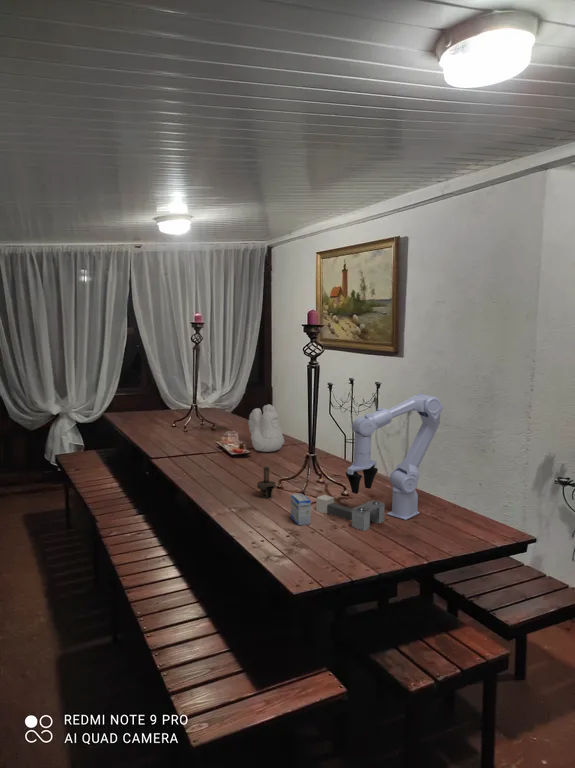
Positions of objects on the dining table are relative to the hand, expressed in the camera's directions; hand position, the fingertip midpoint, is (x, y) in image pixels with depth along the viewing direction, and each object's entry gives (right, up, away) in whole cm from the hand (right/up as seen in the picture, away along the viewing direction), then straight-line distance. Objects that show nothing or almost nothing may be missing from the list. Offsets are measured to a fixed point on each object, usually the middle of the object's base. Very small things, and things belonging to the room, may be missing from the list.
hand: (361, 490), depth 195 cm
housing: (+2, -11, -3) cm, 12 cm away
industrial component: (-34, -7, +26) cm, 43 cm away
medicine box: (-21, -11, -1) cm, 24 cm away
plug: (-7, -10, +5) cm, 13 cm away
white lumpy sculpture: (-37, +2, +101) cm, 108 cm away
